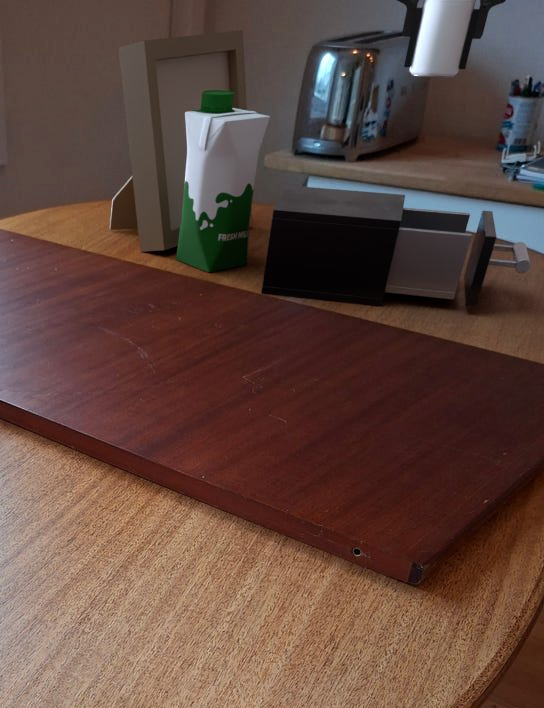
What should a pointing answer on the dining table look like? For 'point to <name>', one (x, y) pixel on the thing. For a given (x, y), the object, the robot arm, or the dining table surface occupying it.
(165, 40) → the photo frame
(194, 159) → the milk carton
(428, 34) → the can
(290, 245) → the cabinet
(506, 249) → the drawer
